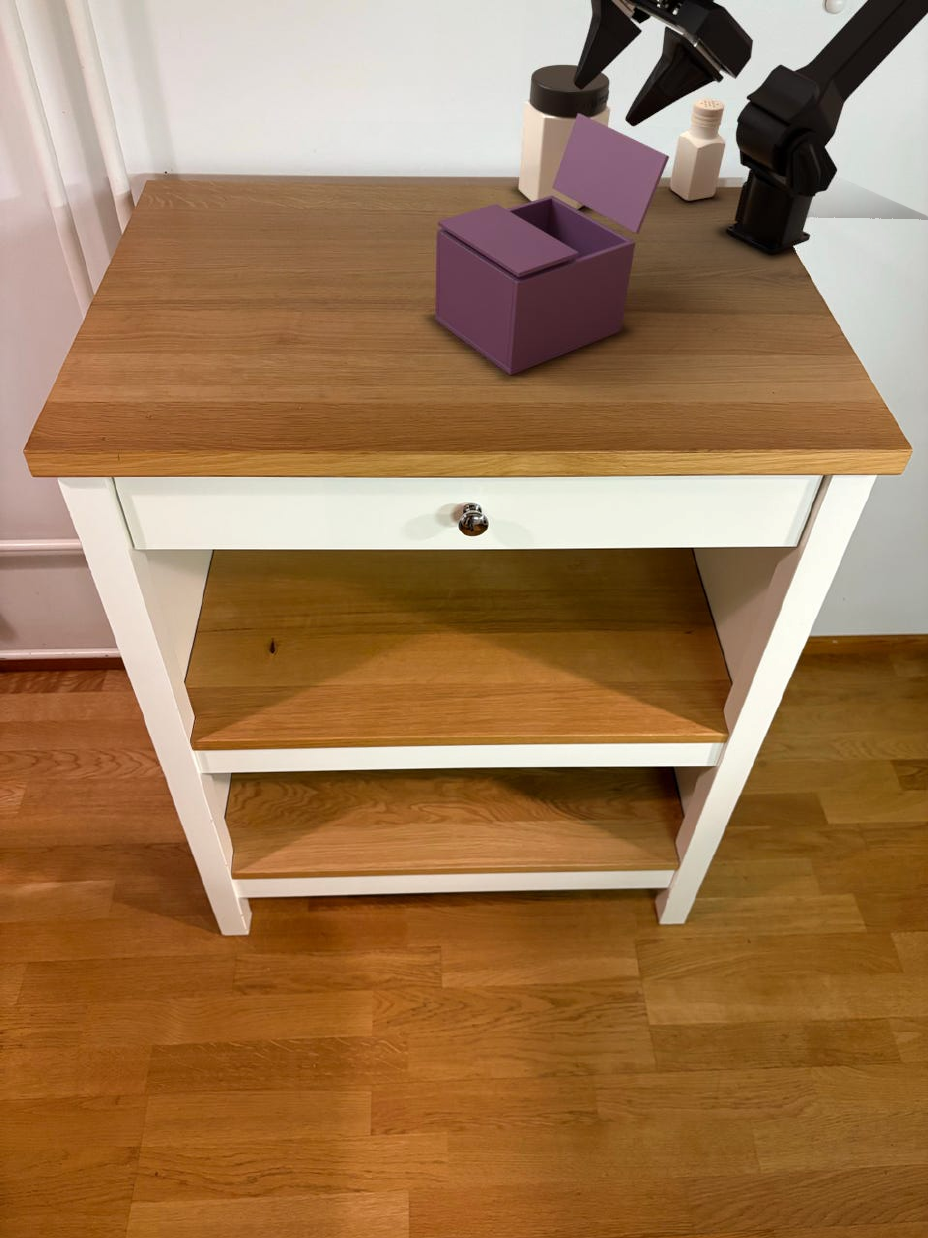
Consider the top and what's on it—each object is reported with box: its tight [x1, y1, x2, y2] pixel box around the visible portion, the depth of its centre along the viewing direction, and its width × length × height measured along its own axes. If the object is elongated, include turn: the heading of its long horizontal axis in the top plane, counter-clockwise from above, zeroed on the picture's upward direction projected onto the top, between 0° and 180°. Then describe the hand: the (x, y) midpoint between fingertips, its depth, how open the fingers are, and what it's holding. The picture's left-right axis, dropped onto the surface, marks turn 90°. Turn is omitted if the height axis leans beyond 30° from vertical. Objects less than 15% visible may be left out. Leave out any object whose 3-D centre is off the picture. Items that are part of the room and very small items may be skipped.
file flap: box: [552, 113, 670, 235], centre depth 85 cm, size 6×11×1 cm
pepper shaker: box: [669, 98, 727, 201], centre depth 108 cm, size 4×4×10 cm
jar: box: [518, 64, 611, 210], centre depth 105 cm, size 9×8×12 cm
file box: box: [434, 195, 636, 376], centre depth 87 cm, size 13×11×9 cm
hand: (601, 104), depth 86 cm, fingers open, 9 cm apart
